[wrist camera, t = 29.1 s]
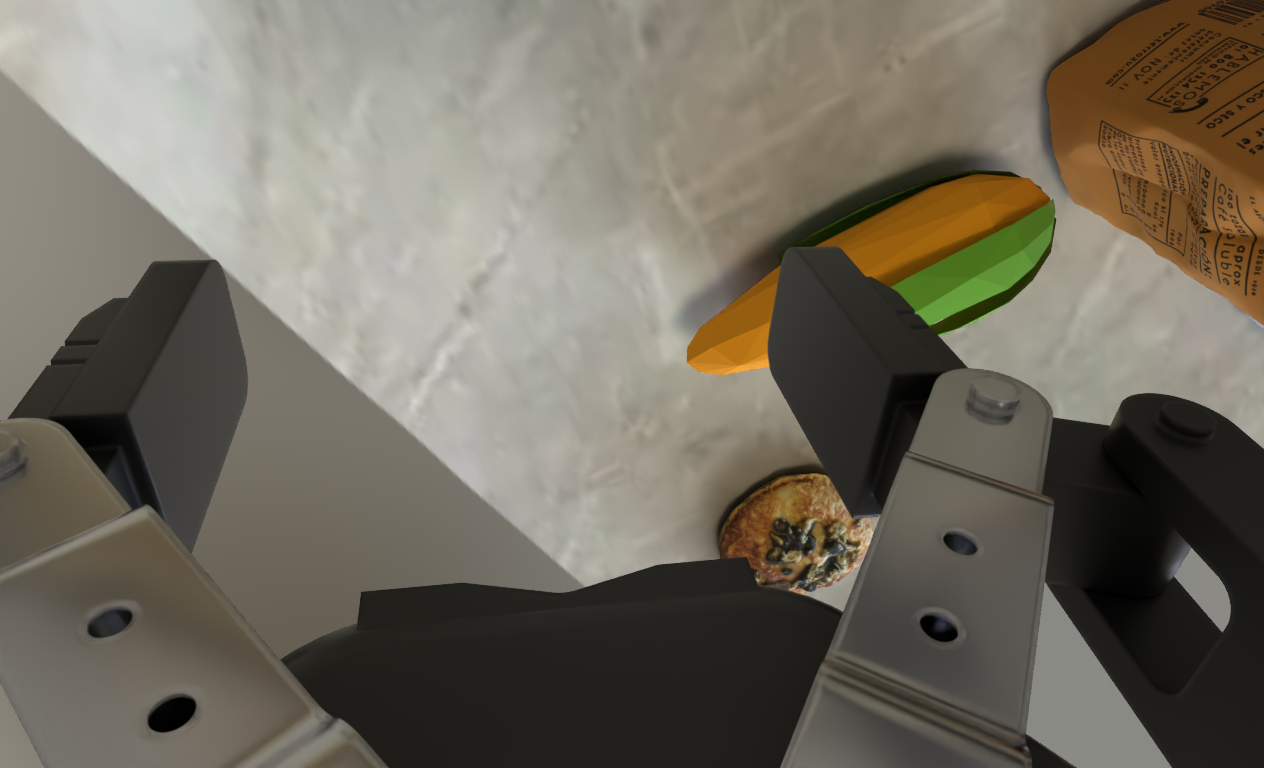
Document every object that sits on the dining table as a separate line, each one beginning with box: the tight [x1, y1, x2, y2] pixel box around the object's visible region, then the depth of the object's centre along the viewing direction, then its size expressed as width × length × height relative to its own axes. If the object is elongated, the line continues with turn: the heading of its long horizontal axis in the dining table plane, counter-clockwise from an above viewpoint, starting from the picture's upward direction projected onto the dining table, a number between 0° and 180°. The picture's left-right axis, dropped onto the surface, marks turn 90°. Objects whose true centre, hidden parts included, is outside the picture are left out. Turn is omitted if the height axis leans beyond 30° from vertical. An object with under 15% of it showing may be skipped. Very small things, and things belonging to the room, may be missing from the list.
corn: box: [687, 170, 1056, 375], centre depth 43 cm, size 7×8×20 cm
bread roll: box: [719, 473, 873, 594], centre depth 56 cm, size 11×11×5 cm
